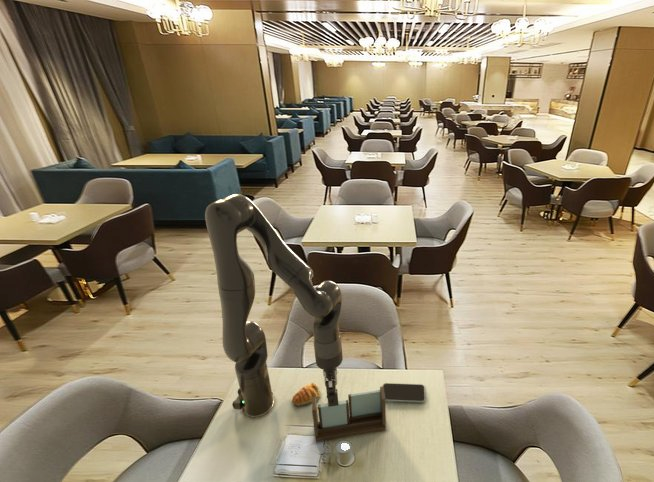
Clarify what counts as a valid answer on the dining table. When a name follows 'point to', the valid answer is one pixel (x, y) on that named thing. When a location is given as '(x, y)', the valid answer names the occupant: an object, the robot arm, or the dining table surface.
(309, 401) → the pastry
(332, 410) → the sash
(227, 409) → the dining table surface
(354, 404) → the window frame
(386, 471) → the dining table surface
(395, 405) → the dining table surface
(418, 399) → the smartphone
